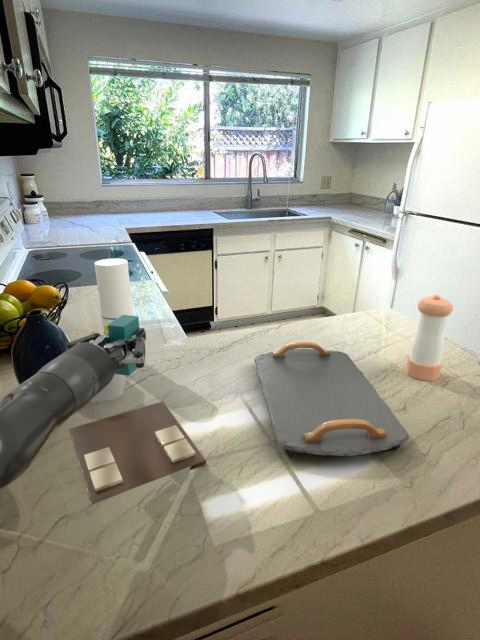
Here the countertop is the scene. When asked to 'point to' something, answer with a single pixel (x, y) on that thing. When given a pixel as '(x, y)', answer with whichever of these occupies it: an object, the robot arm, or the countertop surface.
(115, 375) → the lumpy-topped squat cylinder
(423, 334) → the pepper shaker
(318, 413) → the serving tray
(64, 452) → the countertop surface
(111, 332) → the teal rectangular block
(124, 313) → the cylindrical container
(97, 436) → the word board
